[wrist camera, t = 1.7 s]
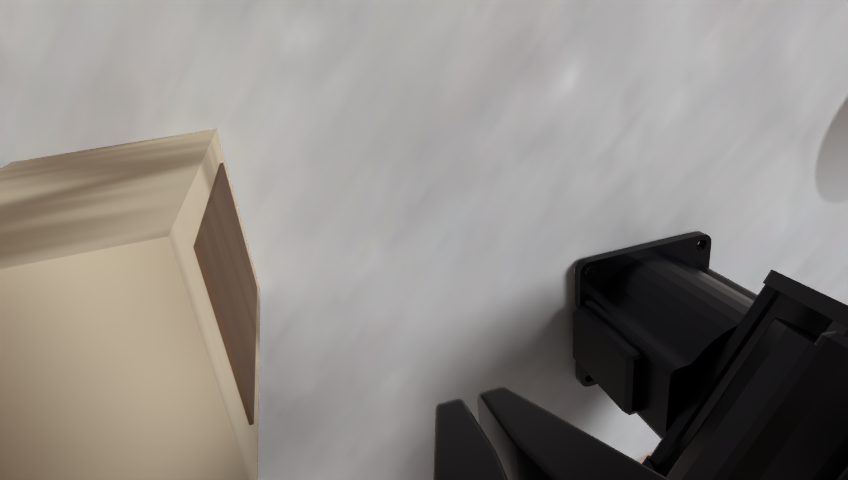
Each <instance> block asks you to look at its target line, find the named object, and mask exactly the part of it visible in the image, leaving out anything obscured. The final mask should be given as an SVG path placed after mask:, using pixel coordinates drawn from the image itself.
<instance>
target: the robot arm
mask: <svg viewBox="0 0 848 480" xmlns="http://www.w3.org/2000/svg"><path fill="white" fill-rule="evenodd" d="M699 241H700V243H699V244H698V242H699ZM697 244H698V245H697ZM710 250H711V238H710V236H708V235H706V234H704V233H702V232H700V231H697V232H692V233H688V234H684V235H680V236H675V237H671V238H667V239H663V240H659V241H655V242H650V243H646V244H642V245H638V246H634V247H629V248H625V249H621V250H617V251H613V252H609V253H604V254H600V255H596V256H592V257H588V258H585V259H582V260H581V261H580V262H579V263H578V264H577V266H576V269H575V308H574V311H573V358H574V359H575V360H576V378H577V379H578V380H579V382H580V383H581V384H582V385H583V386H592V385H595V384H598V385H599V386H600V387H601V388H602V389H603V390H604V391H605V392H606V394H607V395H608V396H609V397H610V398H611V399H612V400H613V401H614V402H615V403H616V404H617V405H618V406H619V408H620V409H621V410H622V411H624V412H625V413H627V414H628V415H631V414H634V413H637V414H638V415H639V416H640V417H641V418H642V419H643V420H644V421H645V422H646V424H647V425H648V426H649V427H650V428H651V429H652V430H653V431H654V432H655V433H656V434H657V435H658V436H659V437H660V438H661V439H662V440H661V441H660V443H659V444H658V446H657V447H656V449H655V450H654V452H653V453H652V455H651V456H647V457H646V459H645V460H644V462H643V463H642V464H640V463H639V462H637V461H635V460H634V459H632V458H630V457H628V456H627V455H625V454H623V453H621V452H619V451H618V450H616V449H614V448H612V447H610V446H609V445H607V444H605V443H603V442H602V441H600V440H598V439H596V438H594V437H593V436H591V435H589V434H587V433H586V432H584V431H582V430H580V429H578V428H577V427H575V426H573V425H571V424H570V423H568V422H566V421H564V420H562V419H561V418H559V417H557V416H555V415H554V414H552V413H550V412H548V411H546V410H545V409H543V408H541V407H539V406H538V405H536V404H534V403H532V402H530V401H529V400H527V399H525V398H523V397H522V396H520V395H518V394H516V393H514V392H513V391H511V390H509V389H507V388H505V387H497V388H493V389H489V390H486V391H482V392H480V394H479V395H478V411H479V422H480V425H479V424H478V422H477V421H476V419H475V418H474V416H473V415H472V413H471V412H470V410H469V409H468V407H467V406H466V404H465V403H464V401H463V400H461V399H454V400H451V401H447V402H444V403H440V404H438V405H437V407H436V419H435V450H434V480H848V306H847V305H845V304H843V303H841V302H839V301H837V300H835V299H833V298H831V297H828V296H826V295H824V294H822V293H820V292H818V291H816V290H814V289H812V288H810V287H807V286H805V285H803V284H801V283H799V282H797V281H795V280H793V279H791V278H788V277H786V276H784V275H782V274H780V273H778V272H776V271H774V270H771V271H770V273H769V274H768V276H767V277H766V279H765V280H764V282H763V283H764V284H765V285H764V287H763V288H762V290H761V291H760V293H759V294H758V295H756V294H754V293H753V292H751V291H749V290H747V289H745V288H743V287H742V286H740V285H738V284H736V283H734V282H733V281H731V280H729V279H727V278H725V277H723V276H722V275H720V274H718V273H716V272H714V271H712V270H711V269H709V260H710ZM589 267H591V269H590V271H589V272H588V273H586V274H585V272H586V270H587V269H588V268H589ZM587 374H589V375H588V376H586V375H587Z"/></svg>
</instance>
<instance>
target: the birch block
mask: <svg viewBox="0 0 848 480" xmlns="http://www.w3.org/2000/svg"><path fill="white" fill-rule="evenodd" d="M259 333H260V288H259V284H258V280H257V277H256V273H255V269H254V265H253V262H252V258H251V254H250V251H249V247H248V243H247V239H246V236H245V232H244V228H243V225H242V221H241V217H240V213H239V210H238V206H237V202H236V199H235V195H234V191H233V187H232V184H231V180H230V176H229V173H228V169H227V165H226V161H225V158H224V154H223V150H222V147H221V143H220V139H219V136H218V132H217V129H213V130H207V131H201V132H195V133H189V134H182V135H176V136H170V137H164V138H158V139H152V140H145V141H139V142H133V143H127V144H121V145H115V146H109V147H102V148H96V149H90V150H84V151H78V152H72V153H65V154H59V155H53V156H47V157H41V158H35V159H28V160H22V161H16V162H12V163H10V164H8V165H6V166H5V167H3V168H1V169H0V480H257V472H258V403H259Z"/></svg>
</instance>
